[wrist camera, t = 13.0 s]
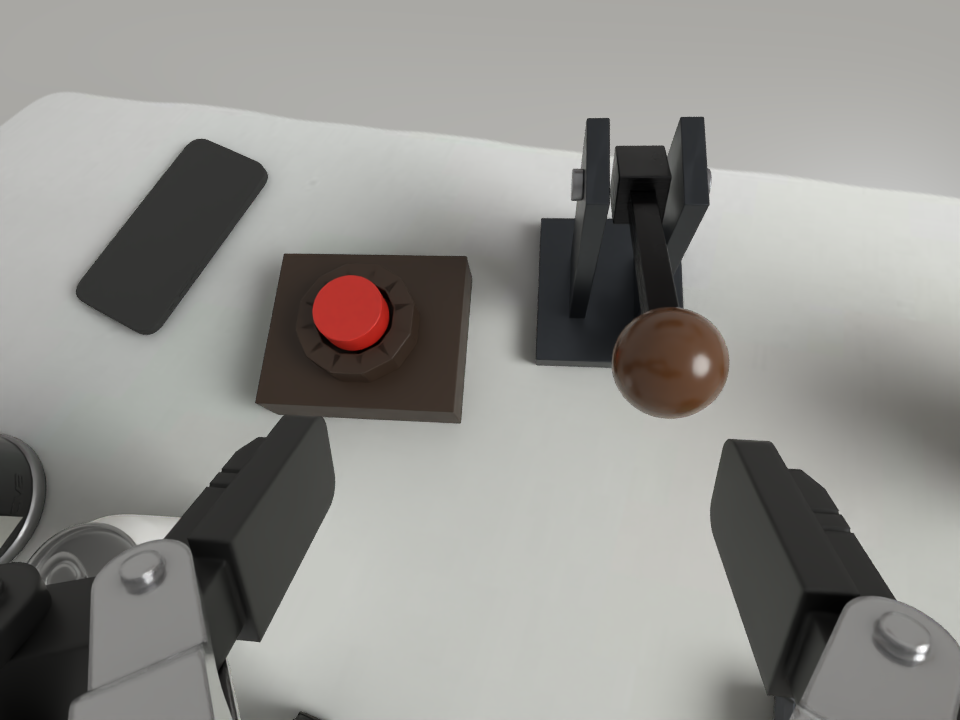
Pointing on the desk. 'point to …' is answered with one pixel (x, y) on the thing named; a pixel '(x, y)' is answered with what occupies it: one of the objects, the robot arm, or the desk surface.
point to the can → (95, 545)
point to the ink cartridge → (305, 717)
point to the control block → (386, 364)
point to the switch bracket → (609, 250)
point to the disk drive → (783, 708)
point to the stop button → (351, 313)
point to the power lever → (659, 302)
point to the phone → (172, 236)
